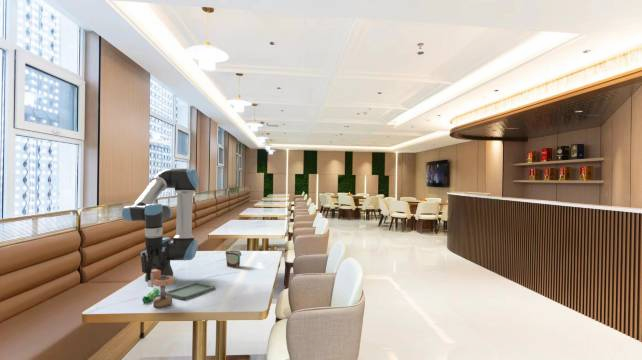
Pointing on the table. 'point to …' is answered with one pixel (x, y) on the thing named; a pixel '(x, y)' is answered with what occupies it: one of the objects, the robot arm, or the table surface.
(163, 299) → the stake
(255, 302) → the table surface
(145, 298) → the candy
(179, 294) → the tray
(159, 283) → the ring
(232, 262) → the food container
